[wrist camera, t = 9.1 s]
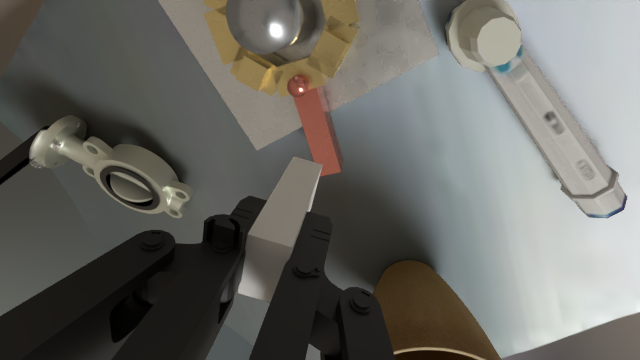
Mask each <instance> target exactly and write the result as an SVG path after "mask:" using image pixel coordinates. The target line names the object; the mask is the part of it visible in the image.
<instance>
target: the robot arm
mask: <svg viewBox="0 0 640 360" xmlns="http://www.w3.org/2000/svg"><path fill="white" fill-rule="evenodd" d="M321 169H322V164H319V163H315V162H312V161H308V160H305V159H301V158H298V157H293V158H292V160H291V162H290V163H289V165H288V167H287V168H286V170H285V172H284V174H283V175H282V177H281V179H280V180H279V182H278V184H277V185H276V187H275V189H274V190H273V192H272V194H271V195H270V197H269V199H268V201H267V200H263V199H260V198H256V197H253V196H248V197H246V198H244V199H242V200H241V201H240V202H239V203H238V205H237V206H236V208H235V209H234V210H233V212H232V213H231V214H230V215H225V214H222V215H214V216H211V217H209V218H208V219H206V220H205V221H204V231H203V241H202V242H201V243H198V244H178V243H175V239H174V237H173V236H172V235H171V234H170V233H168V232H165V231H162V230H149V231H144V232H142V233H139V234H137V235H135V236H134V237H132V238H130V239H129V240H127V241H125V242H124V243H122V244H120V245H119V246H117V247H115V248H114V249H112V250H110V251H109V252H107V253H105V254H104V255H102V256H100V257H99V258H97V259H95V260H93V261H92V262H90V263H88V264H87V265H85V266H84V267H82V268H80V269H78V270H77V271H75V272H73V273H72V274H70V275H68V276H67V277H65V278H64V279H62V280H60V281H58V282H57V283H55V284H53V285H52V286H50V287H48V288H47V289H45V290H43V291H42V292H40V293H38V294H37V295H35V296H33V297H32V298H30V299H28V300H27V301H25V302H23V303H22V304H20V305H18V306H17V307H15V308H13V309H12V310H10V311H8V312H7V313H5V314H3V315H2V316H0V360H205V359H206V357H207V355H208V353H209V351H210V349H211V347H212V345H213V343H214V341H215V339H216V337H217V335H218V333H219V331H220V329H221V327H222V325H223V323H224V321H225V319H226V317H227V315H228V313H229V311H230V309H231V307H232V304H233V300H234V294H235V292H236V290H237V288H238V286H239V290H238V293H240V294H243V295H247V296H250V297H253V298H257V299H260V300H263V301H267V302H270V305H269V308H268V310H267V313H266V316H265V318H264V321H263V323H262V326H261V329H260V331H259V334H258V337H257V339H256V342H255V345H254V347H253V350H252V353H251V355H250V359H249V360H305V358H306V353H307V349H308V344H311V345H312V346H314V347H315V348H317V349H318V350H320V351H321V352H320V357H321V360H396V359H395V355H394V352H393V348H392V345H391V341H390V337H389V334H388V330H387V327H386V323H385V320H384V316H383V313H382V309H381V306H380V304H379V302H378V300H377V298H376V297H375V296H374V295H373V294H372V293H370V292H369V291H367V290H365V289H362V288H358V287H350V288H348V289H346V290H344V291H343V290H342V289H340V288H338V287H337V286H335V285H334V284H332V283H331V282H330V281H329V280H328V278H327V277H326V275H325V272H324V263H325V259H326V254H327V249H328V245H329V240H330V235H331V231H332V223H331V221H330V218H328V217H325V216H321V215H318V214H314V213H311V212H310V210H311V207H312V203H313V199H314V195H315V191H316V188H317V184H318V180H319V176H320V173H321Z"/></svg>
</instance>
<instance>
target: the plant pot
mask: <svg viewBox="0 0 640 360" xmlns="http://www.w3.org/2000/svg"><path fill="white" fill-rule="evenodd" d="M373 295H374V296H375V297H376V298H377V300H378V302H379V304H380V306H381V309H382V313H383V316H384V320H385V323H386V327H387V330H388V334H389V337H390V341H391V345H392V348H393V352H394V355H395V359H396V360H501V358H500V357H499V355H498V353H497V352H496V350H495V349H494V347H493V345H492V344H491V342H490V340H489V339H488V337H487V335H486V334H485V332H484V331H483V329H482V328H481V326H480V325H479V324H478V322H477V321H476V319H475V318H474V316H473V315H472V314H471V312H470V311H469V310H468V308H467V307H466V306H465V304H464V303H463V302H462V301H461V299H460V298H459V297H458V296H457V294H456V293H455V292H454V291H453V290H452V289H451V287H450V286H449V285H448V284H447V283H446V282H445V281H444V280H443V279H442V278H441V277H440V276H439V275H438V274H437V273H436V272H435V271H434V270H433V269H432V268H431V267H430V266H428V265H427V264H425V263H422V262H419V261H414V260H405V261H400V262H397V263H394V264H392V265H391V266H389V267H388V268H387V269H386V270H385V271H384V273H383V275H382V276H381V278H380V280H379V282H378V284H377V286H376V288H375V290H374V292H373Z"/></svg>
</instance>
